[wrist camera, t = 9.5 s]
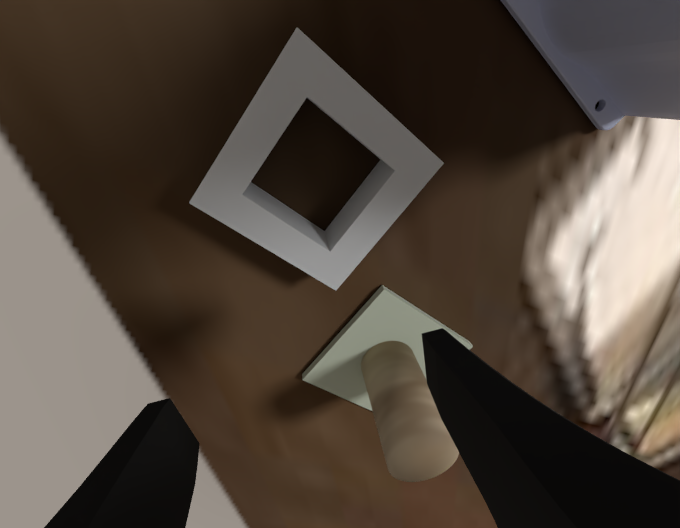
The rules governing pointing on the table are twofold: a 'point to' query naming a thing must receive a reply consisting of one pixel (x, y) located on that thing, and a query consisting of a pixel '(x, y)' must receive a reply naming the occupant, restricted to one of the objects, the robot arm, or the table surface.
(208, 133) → the table surface
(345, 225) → the gray square frame
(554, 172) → the table surface
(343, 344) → the mat
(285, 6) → the table surface
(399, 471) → the plug
